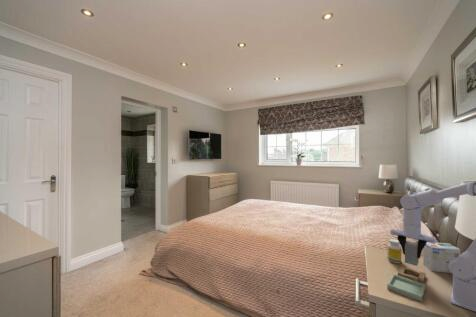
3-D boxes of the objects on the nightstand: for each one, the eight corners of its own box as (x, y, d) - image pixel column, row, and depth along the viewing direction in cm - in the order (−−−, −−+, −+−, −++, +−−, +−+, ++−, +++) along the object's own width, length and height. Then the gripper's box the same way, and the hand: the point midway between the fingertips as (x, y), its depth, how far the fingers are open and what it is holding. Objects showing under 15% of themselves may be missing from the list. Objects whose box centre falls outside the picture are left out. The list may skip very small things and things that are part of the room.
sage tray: (425, 289, 81) (425, 284, 81) (421, 301, 75) (421, 296, 75) (393, 278, 89) (393, 274, 89) (387, 288, 82) (387, 284, 82)
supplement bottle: (403, 264, 100) (403, 243, 100) (390, 262, 101) (390, 242, 101) (397, 258, 105) (397, 238, 105) (385, 257, 106) (385, 238, 106)
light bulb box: (449, 266, 98) (449, 242, 98) (461, 274, 91) (461, 249, 91) (422, 263, 100) (422, 240, 100) (431, 271, 94) (431, 247, 94)
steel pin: (418, 262, 90) (418, 243, 90) (417, 266, 87) (417, 246, 87) (406, 259, 93) (406, 240, 92) (404, 262, 90) (404, 243, 90)
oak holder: (425, 276, 90) (425, 273, 90) (422, 284, 84) (422, 280, 84) (401, 269, 96) (401, 265, 96) (397, 276, 90) (397, 272, 90)
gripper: (436, 225, 87) (436, 258, 87) (393, 217, 97) (392, 247, 98) (434, 229, 82) (434, 264, 82) (389, 221, 93) (389, 252, 93)
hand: (411, 255), depth 90 cm, fingers closed on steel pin, 4 cm apart
